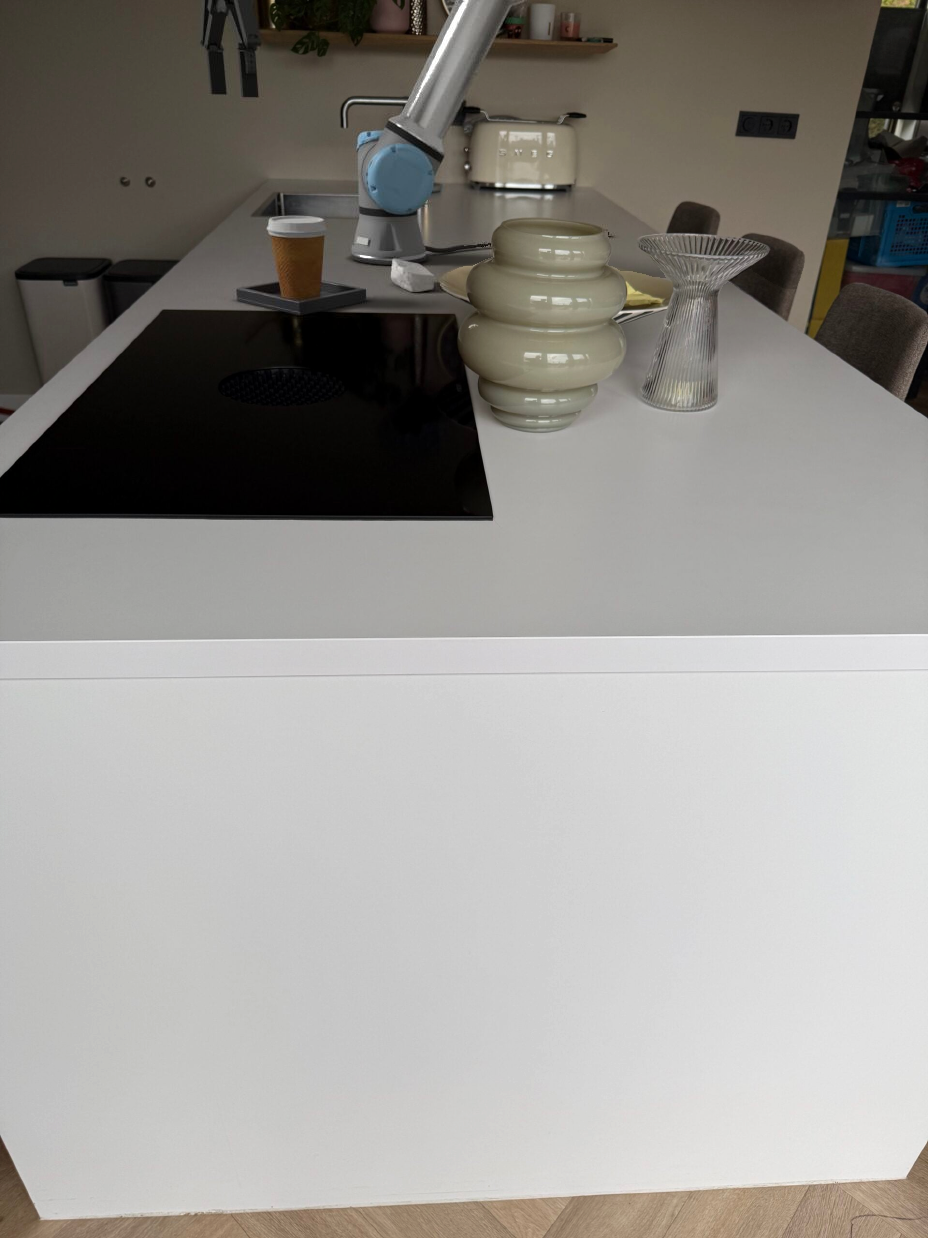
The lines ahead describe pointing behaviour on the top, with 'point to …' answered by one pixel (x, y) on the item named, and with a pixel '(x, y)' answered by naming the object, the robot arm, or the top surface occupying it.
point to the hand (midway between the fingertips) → (233, 95)
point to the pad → (329, 299)
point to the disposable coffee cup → (298, 254)
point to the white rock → (411, 276)
